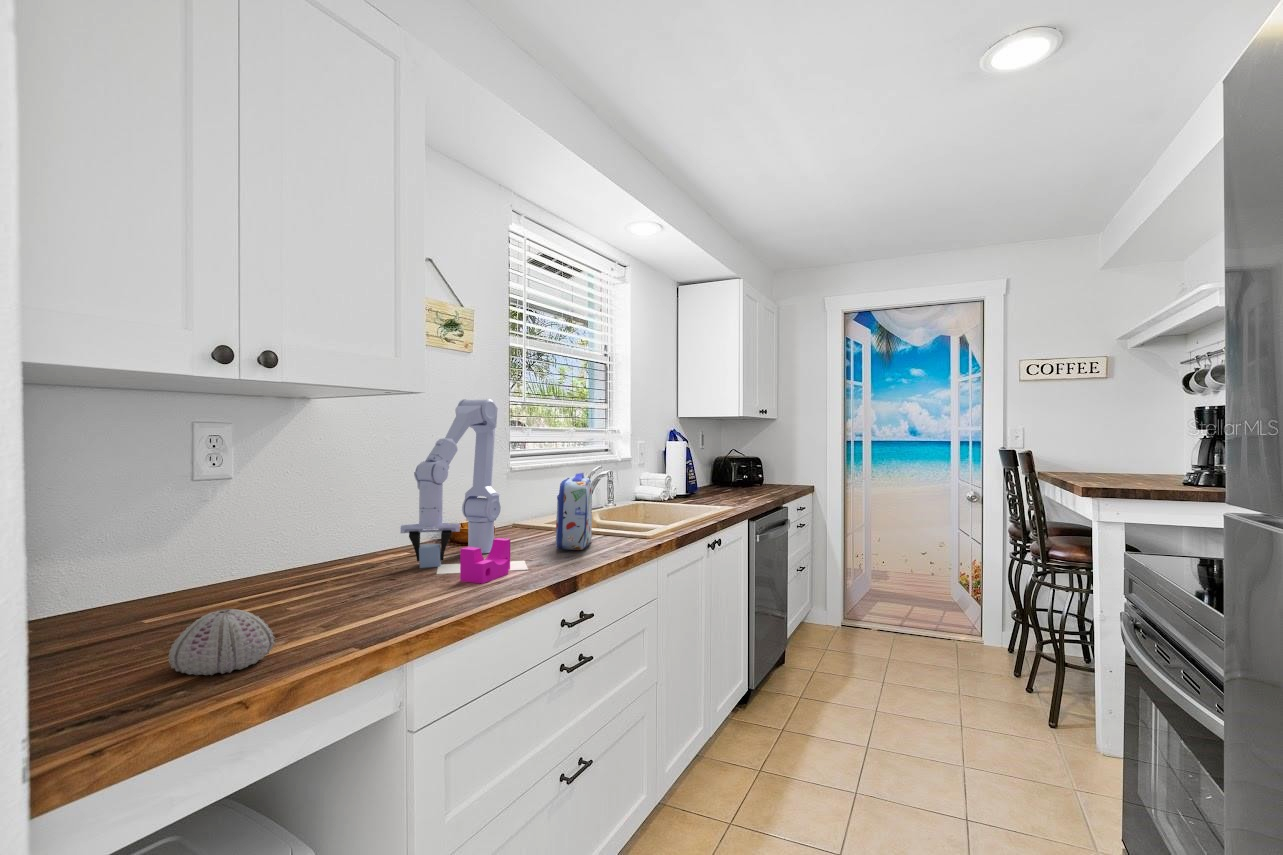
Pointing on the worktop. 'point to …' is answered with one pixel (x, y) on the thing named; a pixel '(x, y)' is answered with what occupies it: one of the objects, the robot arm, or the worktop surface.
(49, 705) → the worktop surface
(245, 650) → the sea urchin shell
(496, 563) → the toy block
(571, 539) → the lunch box
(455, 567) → the letter board
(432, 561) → the blue cube
